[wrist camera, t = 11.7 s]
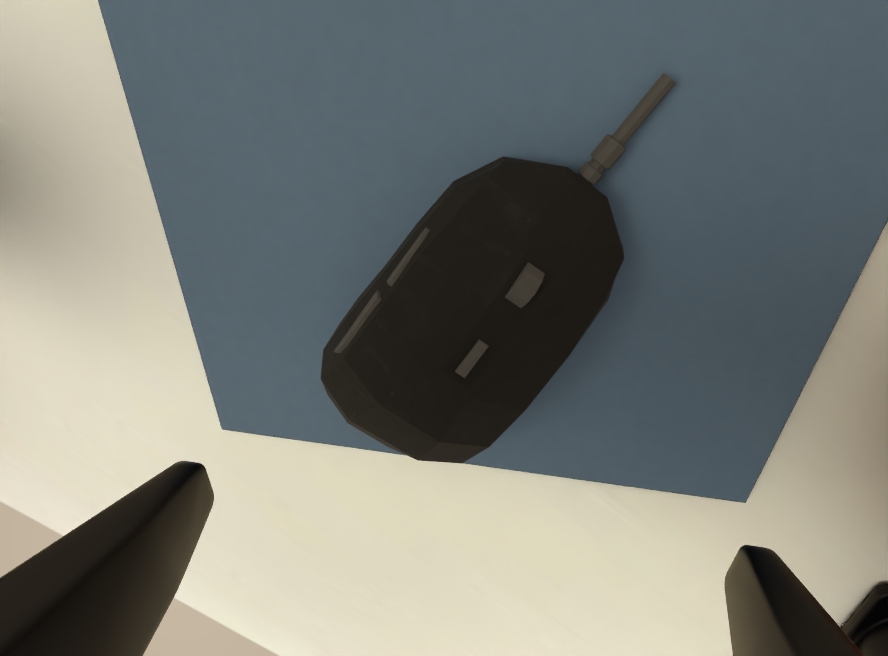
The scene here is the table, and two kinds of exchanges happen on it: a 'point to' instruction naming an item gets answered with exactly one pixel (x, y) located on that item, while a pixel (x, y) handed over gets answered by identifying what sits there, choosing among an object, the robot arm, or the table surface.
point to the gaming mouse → (480, 303)
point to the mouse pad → (534, 139)
